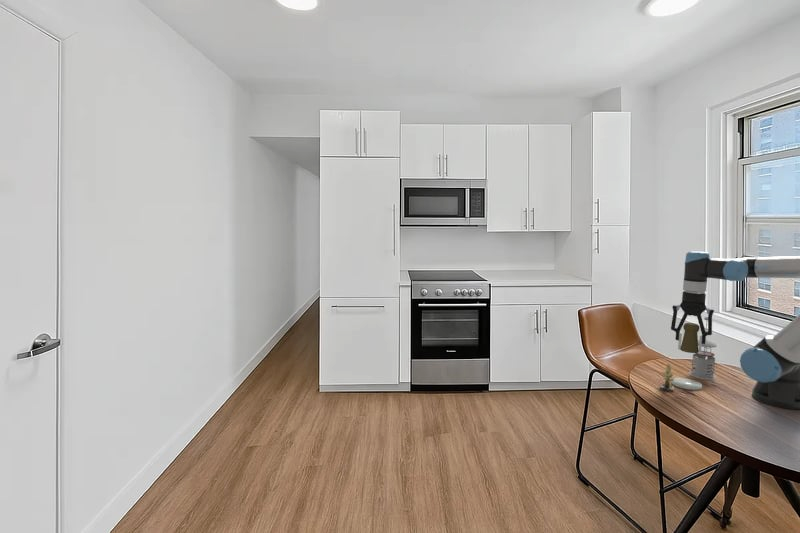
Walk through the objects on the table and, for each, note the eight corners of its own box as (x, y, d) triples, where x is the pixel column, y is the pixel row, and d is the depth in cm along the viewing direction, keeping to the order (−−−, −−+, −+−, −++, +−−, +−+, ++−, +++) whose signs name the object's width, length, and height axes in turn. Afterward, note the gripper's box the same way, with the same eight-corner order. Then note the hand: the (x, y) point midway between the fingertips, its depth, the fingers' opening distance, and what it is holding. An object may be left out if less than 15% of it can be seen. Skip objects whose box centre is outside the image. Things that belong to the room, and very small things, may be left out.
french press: (685, 375, 188) (689, 316, 185) (693, 368, 196) (698, 312, 193) (712, 381, 181) (718, 321, 178) (720, 374, 189) (725, 316, 186)
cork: (701, 353, 171) (704, 325, 170) (684, 352, 173) (686, 324, 171) (694, 349, 177) (696, 321, 176) (677, 348, 178) (679, 321, 177)
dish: (702, 384, 178) (702, 381, 178) (701, 392, 170) (701, 389, 170) (672, 378, 183) (673, 376, 183) (670, 386, 175) (671, 383, 175)
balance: (674, 385, 176) (676, 358, 175) (672, 395, 167) (674, 366, 165) (661, 383, 179) (663, 356, 177) (658, 392, 169) (660, 364, 168)
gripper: (724, 292, 170) (719, 352, 173) (666, 288, 181) (662, 343, 183) (724, 295, 164) (719, 357, 166) (664, 290, 175) (660, 348, 177)
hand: (689, 350), depth 175 cm, fingers closed on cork, 6 cm apart
